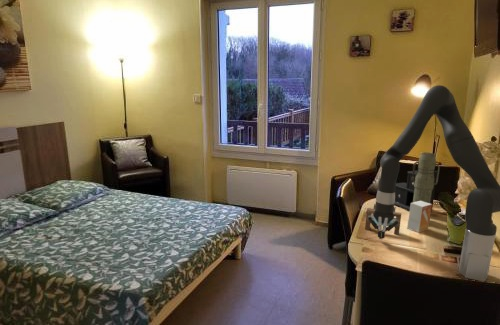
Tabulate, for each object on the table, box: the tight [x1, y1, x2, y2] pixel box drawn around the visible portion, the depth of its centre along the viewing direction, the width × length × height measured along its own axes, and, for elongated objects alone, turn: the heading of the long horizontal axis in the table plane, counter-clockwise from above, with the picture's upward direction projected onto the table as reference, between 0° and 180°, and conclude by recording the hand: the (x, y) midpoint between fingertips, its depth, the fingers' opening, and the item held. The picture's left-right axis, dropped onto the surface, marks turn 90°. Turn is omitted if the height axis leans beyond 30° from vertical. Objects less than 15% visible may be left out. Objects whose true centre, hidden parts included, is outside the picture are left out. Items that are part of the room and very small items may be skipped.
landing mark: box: [370, 213, 396, 227], centre depth 184 cm, size 13×13×1 cm
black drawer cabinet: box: [394, 170, 437, 213], centre depth 203 cm, size 23×11×24 cm, turn 24°
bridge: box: [364, 207, 402, 236], centre depth 171 cm, size 3×15×10 cm, turn 68°
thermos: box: [412, 152, 441, 203], centre depth 183 cm, size 9×12×35 cm
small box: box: [406, 201, 433, 234], centre depth 174 cm, size 8×6×13 cm
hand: (380, 238), depth 160 cm, fingers closed
